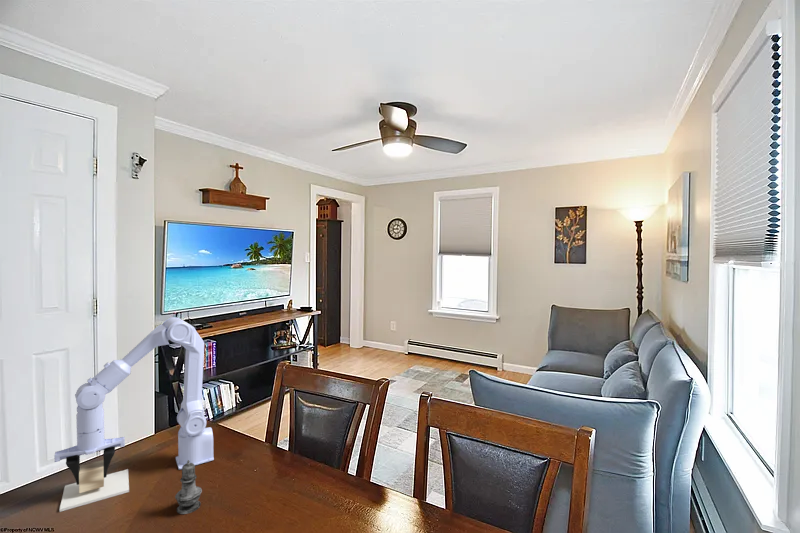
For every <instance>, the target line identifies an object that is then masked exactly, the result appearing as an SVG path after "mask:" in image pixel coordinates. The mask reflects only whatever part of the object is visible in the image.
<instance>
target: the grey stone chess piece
mask: <svg viewBox="0 0 800 533" xmlns="http://www.w3.org/2000/svg"><path fill="white" fill-rule="evenodd" d="M197 477H198V476H197V475H196V465H194V464H193V463H190V461H189V460H188V461H187V463H186V464H185V465H183V467H182V469H181V478H180V480H179V481H180V482H181V489H180V490H178V492H177V493H176V494H175V496H174V498H175V500H176V502H177V504H178V505H179V506H177V508H176V512H177V514H179V515H188V514H191V513H193V512H196V511H197V510H198V509H199V508H200V507H201V504H202V502H201V501H200V500H199V499H200V498H201V494H202V492H203V489H202V487H200V486H197V485H196V479H197Z"/></svg>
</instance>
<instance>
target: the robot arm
mask: <svg viewBox="0 0 800 533" xmlns="http://www.w3.org/2000/svg"><path fill="white" fill-rule="evenodd" d="M169 341H170V342H172V343H174V344H179V345H180V346H182V347H183V348H184V349H185V353H184V354H185V357H184V374H183V375H184V378H183V394H182V395H183V396H182V401H181V403H180V409H179V411H178V413H177V416H176V421H177V423H178V425H180V427H179V430H178V432H177V437H178V439H177V440H178V441H177V445H178V446H177V447H178V449H177V450H178V455H177V456H175V462H176V465H177V468H178V470H182V467H183V465H185V464H186V463H187V461H188V460H189V461H190V463H193V464H194V465H195V466H198V465H201V464H204V463H209V462H211V461H214V460H215V458H214V433H213V428H212V427H211V426H210V427H207V423H208V422H207V418H206V416H205V412H204V411H205V410H204V406H203V401H202V400H203V399H202V396H203V379H204V378H203V376H204V375H203V374H204V362H205V360H204V359H205V358H204V357H205V355H204V354H205V341H204V340H203V338H202V337H201V336H200V334H199V332H197V330H196V327H194V325H192V324H190V323H188V322H186V321H185V320H183V319H181V318H180V317H177V316H173V317H172V316H171V317H169V318H167V319H165V320H164V321H163V322H162V324H161V323H160V324H159V325H157V326H156V327H155V328H154V329H153V330H152V331H151V332H150V333H148V334H147V335H146V336H145V337H144V338H143V339H141V341H140V342H139V343H138V344H137V345H135V346H134V347H133V348H132V349H131V350H130V351H129V352H128V353H127V354H125V356H124V357H123V358H120V359H113V360H112V361H110V363H109V361H108V362H106V363H105V364H104V365H103V369H101V370H100V371H98V373H97V374H95V375H94V376H93V377H90V378H88V379H86V380H87V381H86V383H85V382H84V383H82V384H81V385H80V386H79V387H78V388H77V390H76V392H75V394H74V396H75V401H76V402H75V403H76V404H77V406H76V412H77V413H76V445H75V446H70V447H68V448H64V449H61V450H58V451H55V453H54V455H53V456H54V463H58V462H60V461H62V460H65V466H66V467H67V469H69V470H70V471H71V473H72V475H73V476H74V477H73V478H74V479H75V483H77V485H79V470H80V466H81V464H80V462H81V461H80V458H81V456H84V455H86V456H87V455H88V456H89V455H93V454H95V453H96V452H100V451H103V460H104V478H105V477H106V476H107V475H108V469H109V467H110V463H111V461H112V459H113V457H114V455H115V453H116V448H118V447H120V448H122V447H125V446H126V445H125V444H126V441H125V436H121V437H114V438H106V439H105V409H104V408H103V407H104V406H103V405H104V404H103V403H104V401H105V399H106V395H107V394H109V393H111V392H112V391H113V390H114V389H115V388H117V387H118V386H119V385H120V384H121V383H123V381H124V380H126V379H127V378H128V377H129V376H130V375H131V372H132V371H131V370H132V367H133V366H135V365H136V364H137V363H138V362H139V361H141V360H143V358H145V356H147V355H148V354H149V353H151V352H152V351H153V350H154V349H156V348H157V347H160V346H166V345H170V343H169Z"/></svg>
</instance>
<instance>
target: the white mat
mask: <svg viewBox="0 0 800 533" xmlns="http://www.w3.org/2000/svg"><path fill="white" fill-rule="evenodd" d="M129 478H130V477H129V469H128V468H127V469H124V470H120V471H119V470H118V471H116V472H112V473H107V476H106V477H105V478H104V487H100V488H97V489H93V490H89V491H86V492H82V493H79V485H77V483H76V482H74V483H70V484H65V485H64V487H63V494H62V497H61V502H60V505H59V513H61V512H63V511H68V510H71V509H75V508H78V507H81V506H85V505H89V504H92V503H95V502H99V501H102V500H106V499H109V498H113V497H116V496H121V495H123V494H126V493H130V482H129Z"/></svg>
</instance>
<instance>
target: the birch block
mask: <svg viewBox="0 0 800 533" xmlns="http://www.w3.org/2000/svg"><path fill="white" fill-rule="evenodd" d="M100 487H104V459H102V460H97V461H93V462H89V463H85V464H80V470H79V493H82V492H86V491H89V490H93V489H97V488H100Z"/></svg>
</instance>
